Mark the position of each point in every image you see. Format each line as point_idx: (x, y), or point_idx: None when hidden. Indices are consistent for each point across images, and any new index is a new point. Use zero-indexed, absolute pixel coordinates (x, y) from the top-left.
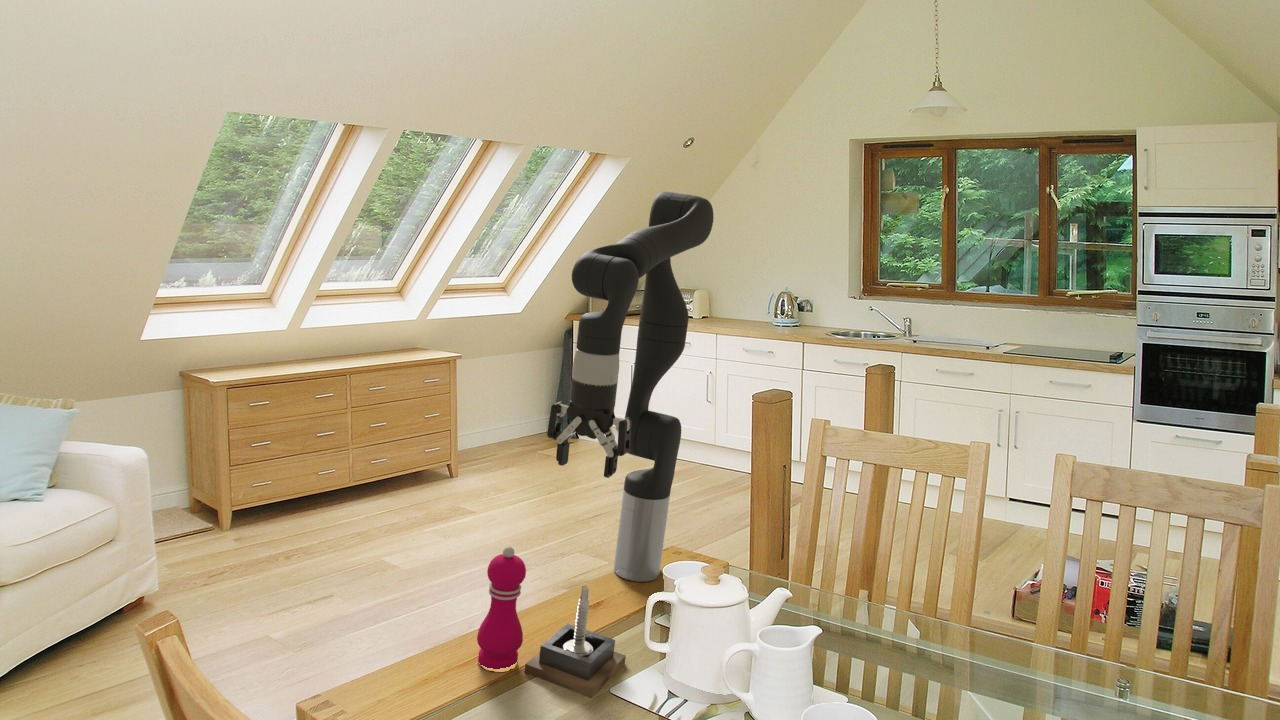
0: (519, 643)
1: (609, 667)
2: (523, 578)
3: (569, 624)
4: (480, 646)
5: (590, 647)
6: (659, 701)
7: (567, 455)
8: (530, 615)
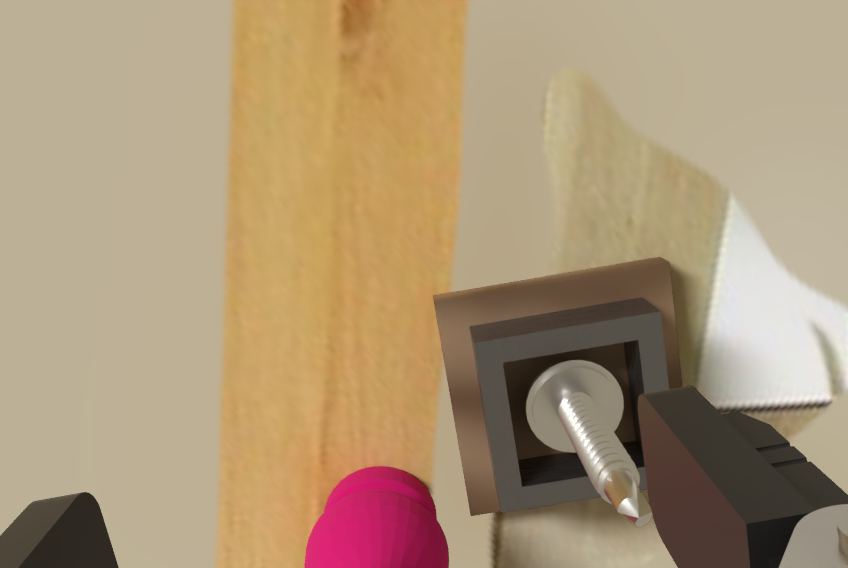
0: (447, 551)
1: (668, 357)
2: None
3: (483, 343)
4: None
5: (610, 387)
6: (841, 348)
7: (53, 561)
8: (249, 237)
